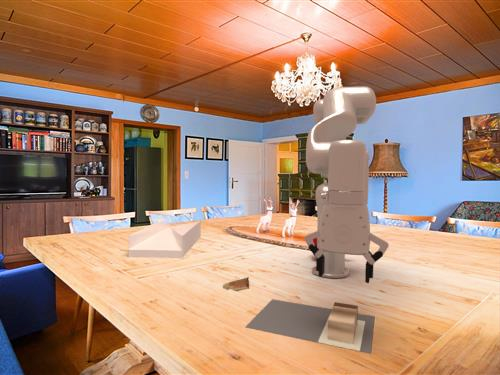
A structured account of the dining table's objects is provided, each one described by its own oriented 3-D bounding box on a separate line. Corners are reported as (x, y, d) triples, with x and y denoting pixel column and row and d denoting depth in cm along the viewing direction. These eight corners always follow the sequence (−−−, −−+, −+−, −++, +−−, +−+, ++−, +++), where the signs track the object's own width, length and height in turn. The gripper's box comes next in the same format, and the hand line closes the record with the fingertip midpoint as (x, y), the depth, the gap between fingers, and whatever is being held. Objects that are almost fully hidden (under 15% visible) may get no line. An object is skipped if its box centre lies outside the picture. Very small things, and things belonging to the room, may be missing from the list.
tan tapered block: (353, 344, 65) (353, 323, 65) (327, 339, 67) (327, 319, 67) (357, 323, 74) (357, 305, 74) (334, 319, 76) (334, 302, 76)
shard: (248, 281, 106) (248, 275, 106) (265, 287, 101) (265, 281, 101) (221, 288, 99) (221, 283, 99) (238, 296, 93) (238, 289, 93)
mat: (272, 301, 88) (272, 298, 88) (375, 318, 78) (375, 316, 78) (244, 329, 72) (244, 326, 72) (370, 356, 62) (370, 353, 62)
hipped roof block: (182, 259, 134) (182, 236, 134) (128, 258, 134) (128, 235, 134) (200, 238, 179) (200, 220, 179) (160, 237, 179) (160, 220, 179)
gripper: (301, 198, 69) (300, 277, 70) (389, 202, 63) (387, 290, 64) (309, 195, 76) (308, 267, 77) (390, 199, 69) (387, 278, 71)
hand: (343, 277), depth 71 cm, fingers open, 9 cm apart
